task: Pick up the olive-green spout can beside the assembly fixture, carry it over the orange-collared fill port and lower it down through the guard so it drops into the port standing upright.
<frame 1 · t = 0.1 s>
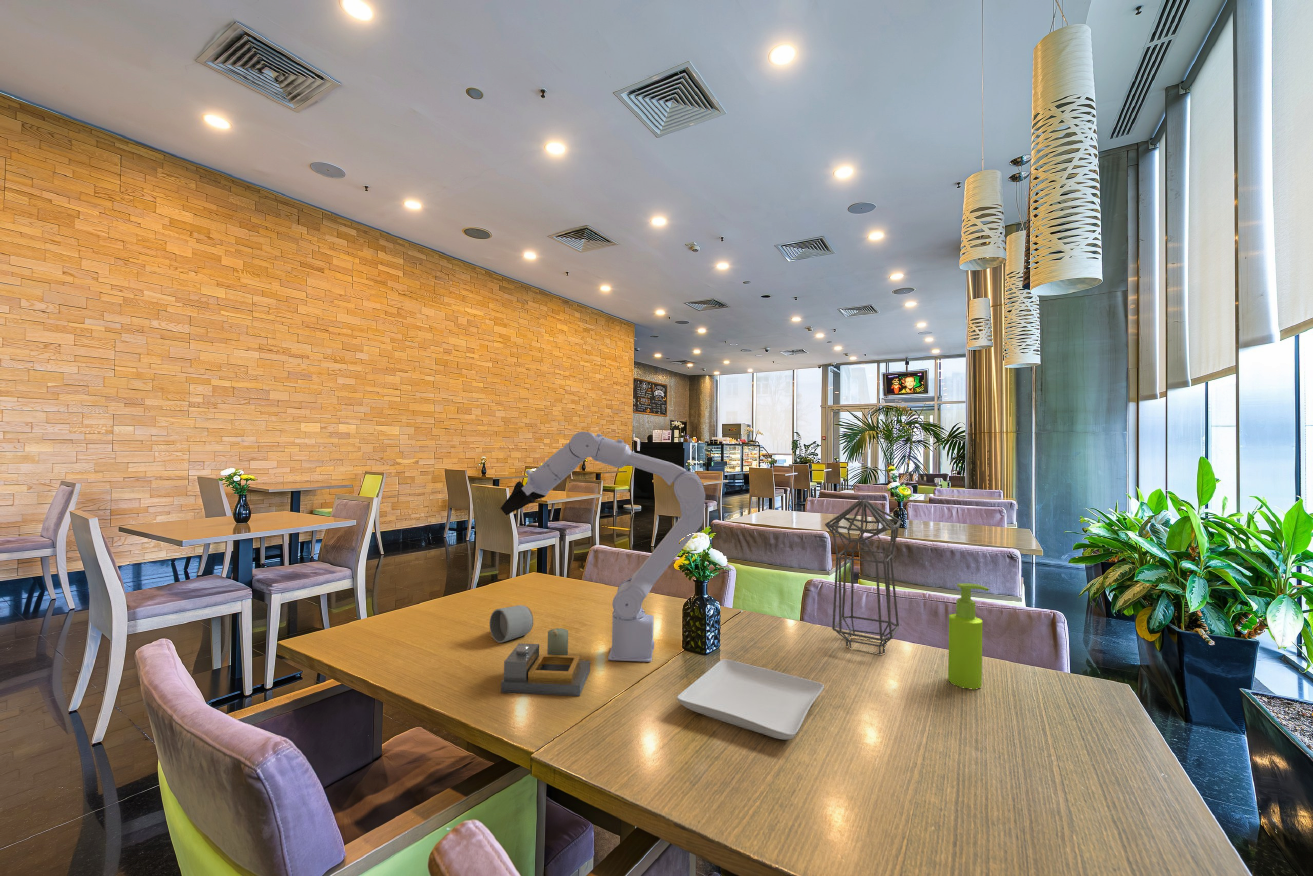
hand: (509, 509, 120), 32 cm above the table, tool tilted 50°, fingers open, 7 cm apart
grey hollow cylinder: (507, 637, 128), on the table
spout can: (557, 659, 115), on the table
geometric lantern: (861, 647, 126), on the table
salad plate: (752, 709, 96), on the table
soap dispenser: (967, 684, 107), on the table
assembly fixture: (547, 681, 105), on the table
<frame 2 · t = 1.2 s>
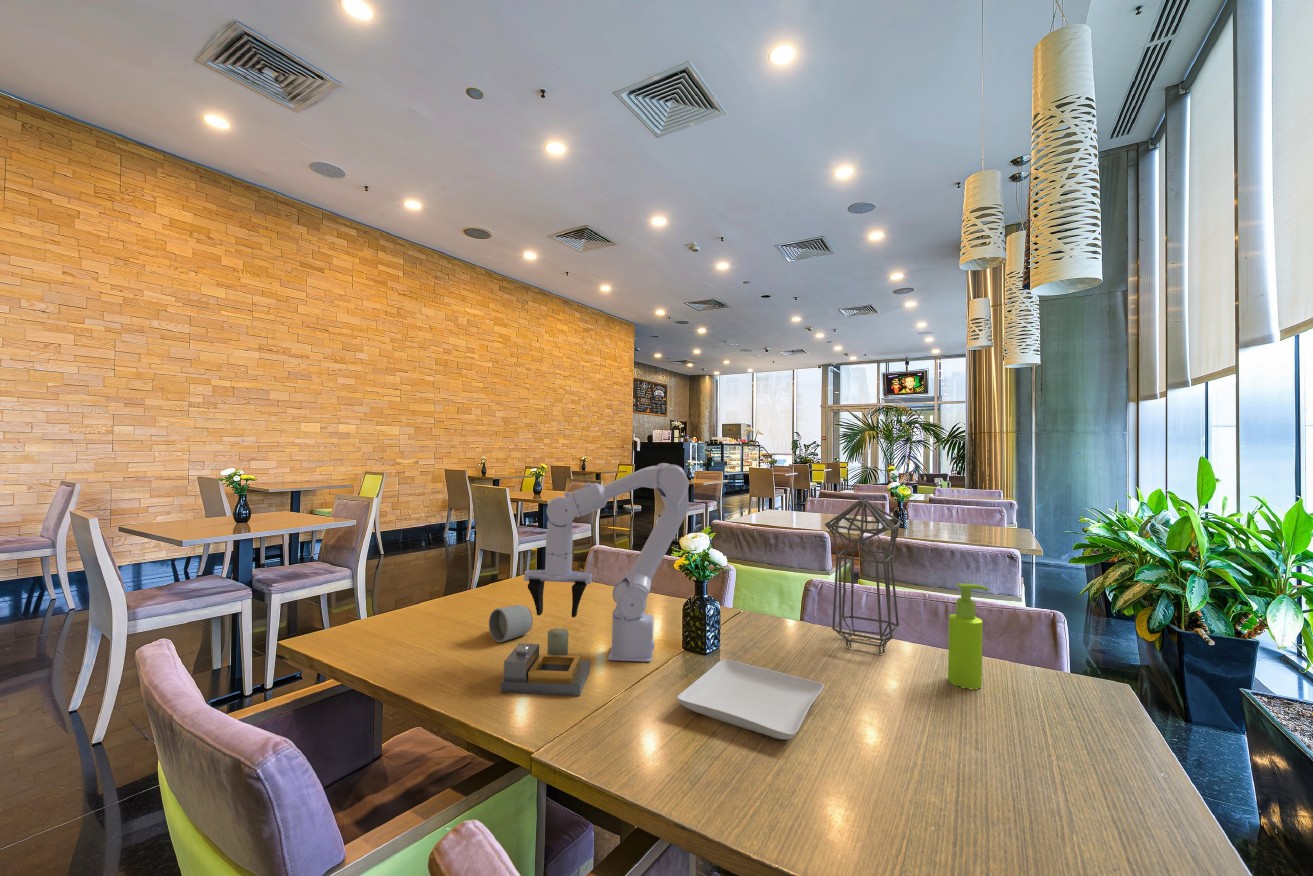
hand: (556, 615, 115), 10 cm above the table, tool pointing down, fingers open, 7 cm apart
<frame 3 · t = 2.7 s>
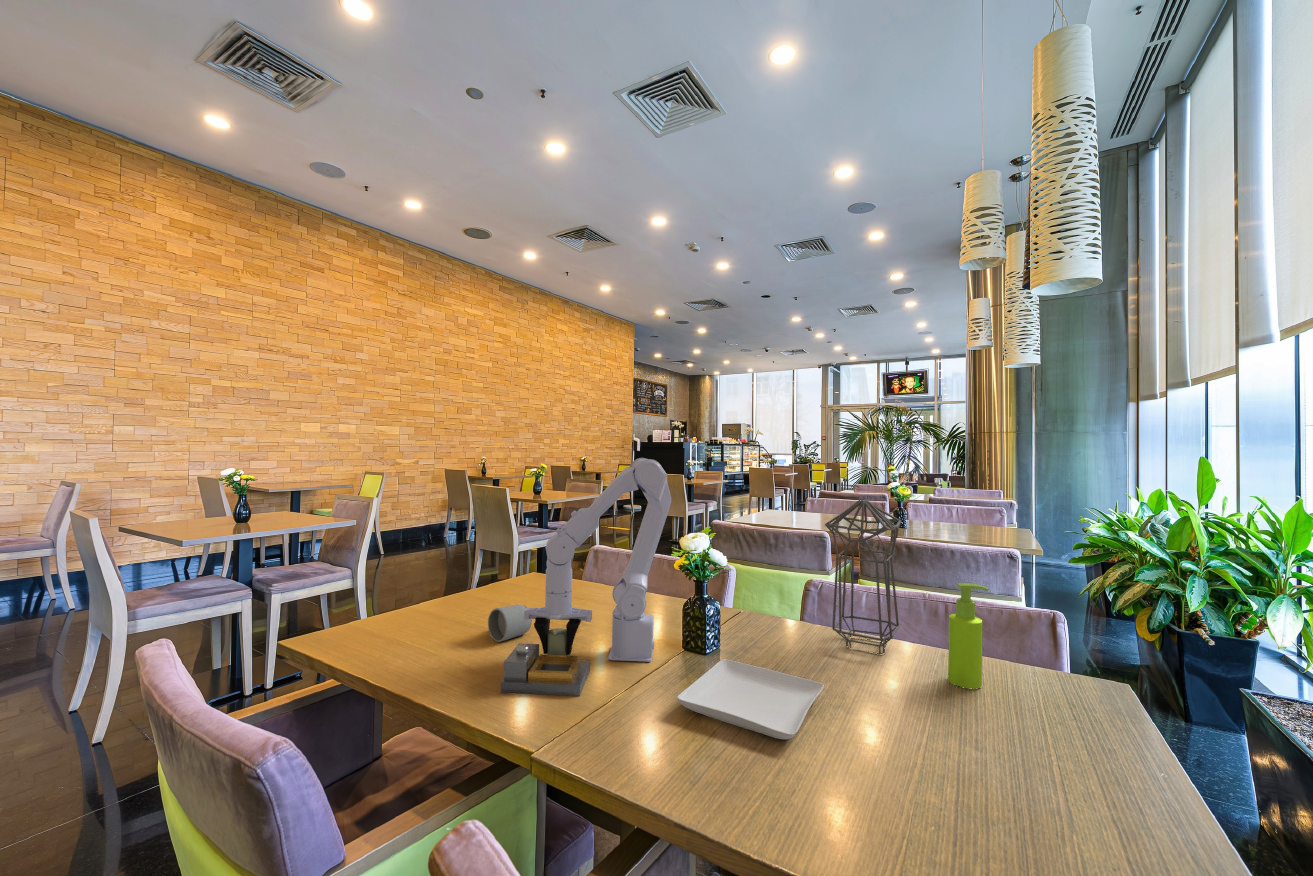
hand: (557, 652, 115), 1 cm above the table, tool pointing down, fingers closed on spout can, 4 cm apart
spout can: (557, 659, 115), on the table, touching gripper
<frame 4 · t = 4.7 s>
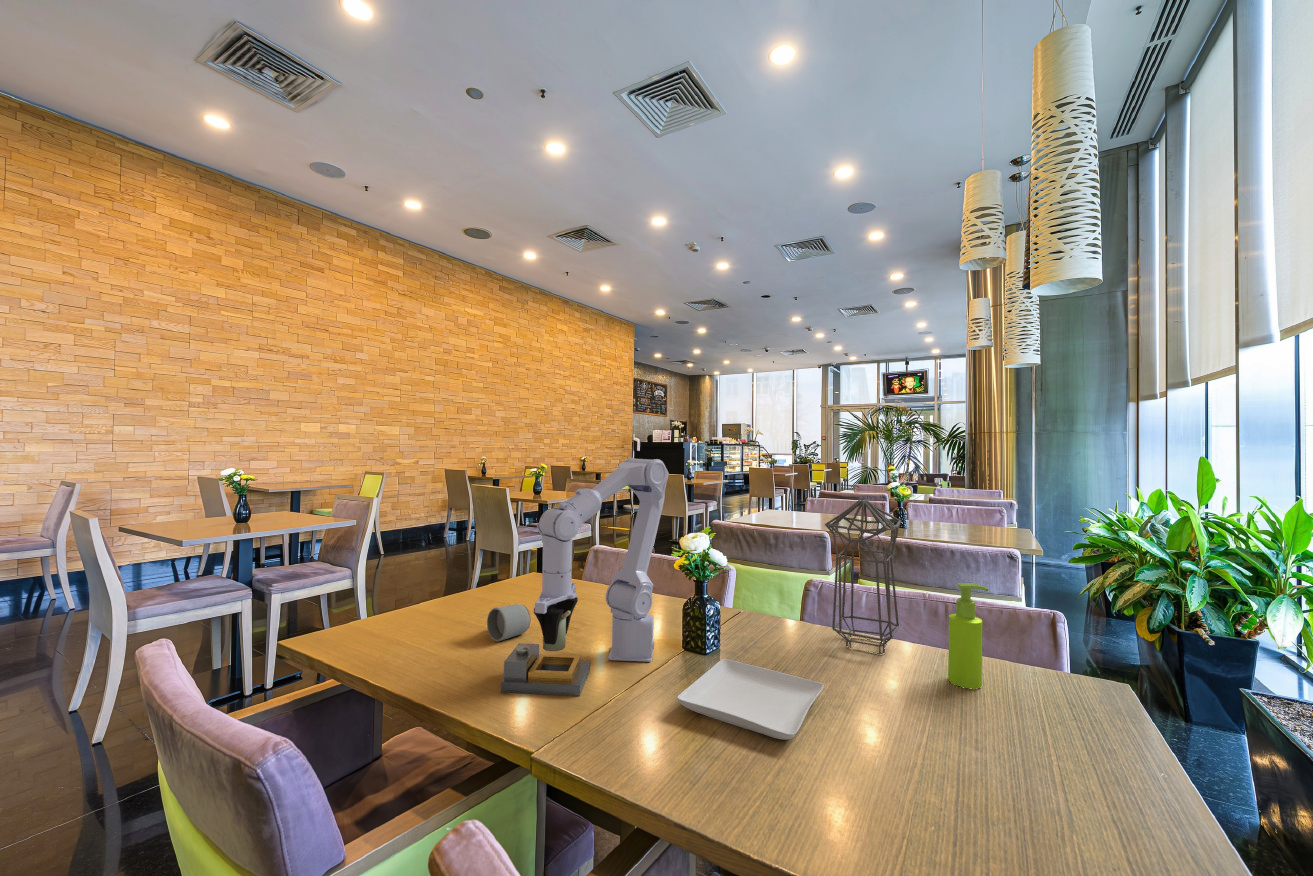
hand: (555, 638, 105), 8 cm above the table, tool pointing down, fingers closed on spout can, 4 cm apart
spout can: (554, 647, 105), point 7 cm above the table, touching gripper
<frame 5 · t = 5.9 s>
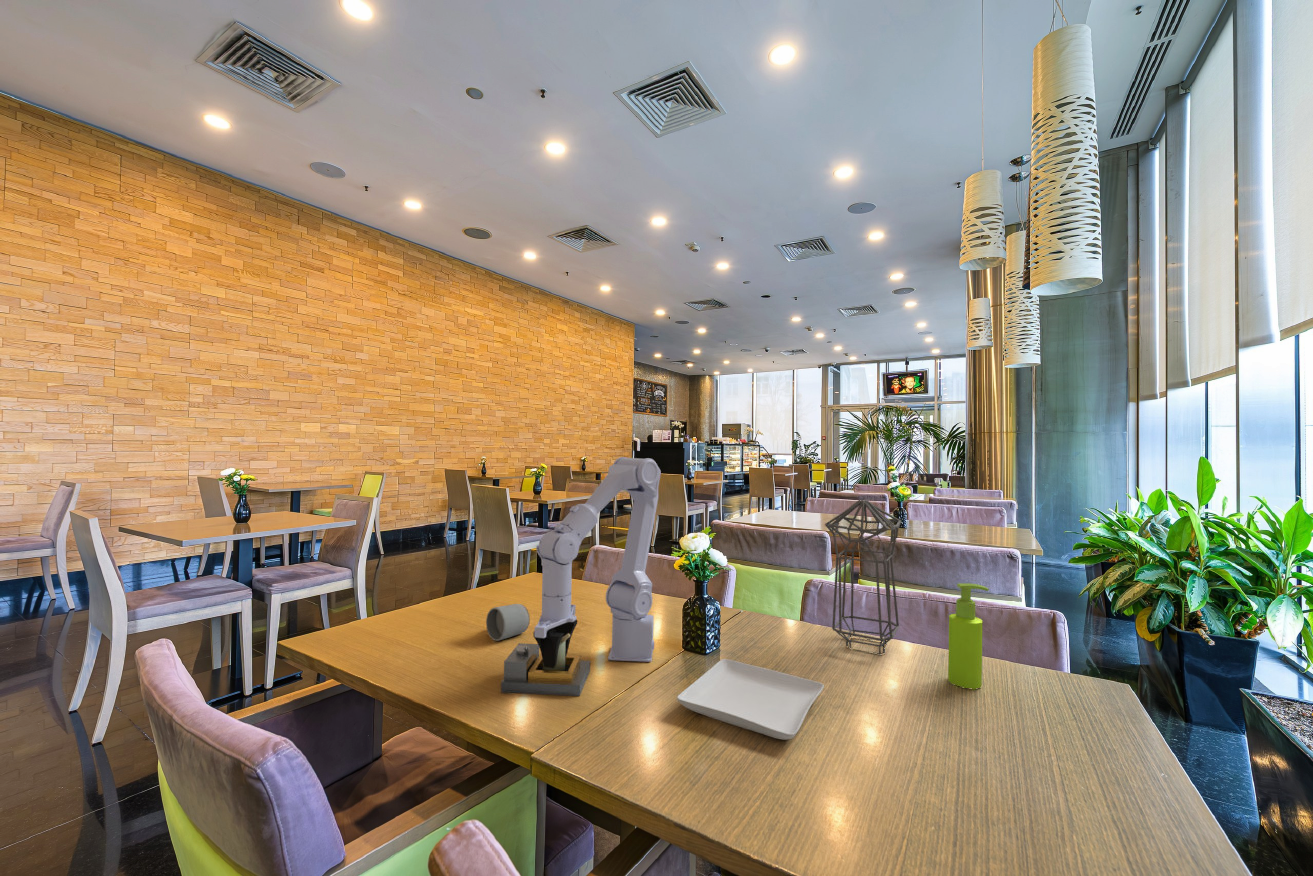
hand: (555, 661, 104), 4 cm above the table, tool pointing down, fingers closed on spout can, 4 cm apart
spout can: (553, 669, 105), point 2 cm above the table, touching gripper
when the fingers open (4 cm above the table, at t = 6.6 s): spout can drops 2 cm, resting in assembly fixture.
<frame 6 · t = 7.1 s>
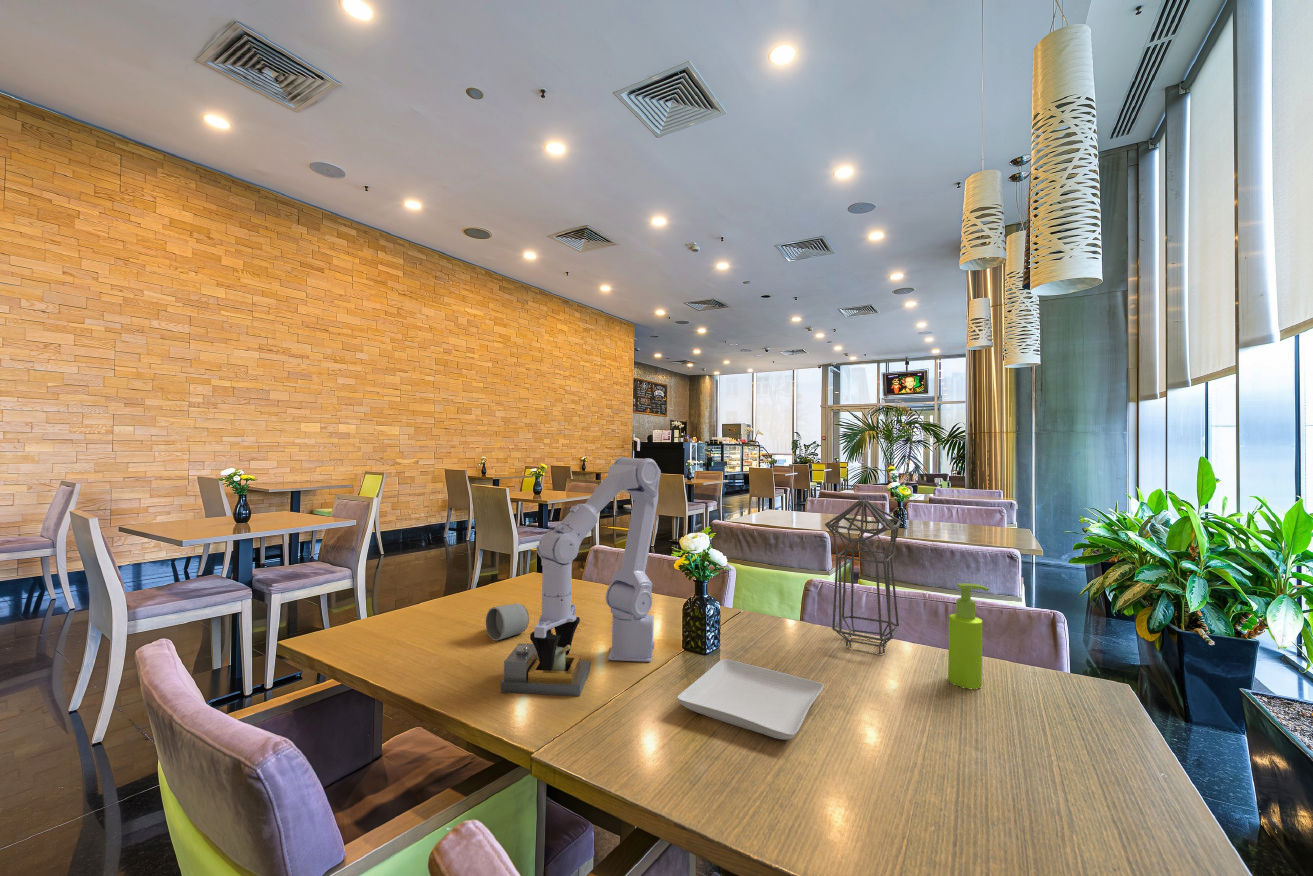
hand: (555, 661, 104), 4 cm above the table, tool pointing down, fingers open, 7 cm apart
spout can: (553, 681, 105), resting in assembly fixture
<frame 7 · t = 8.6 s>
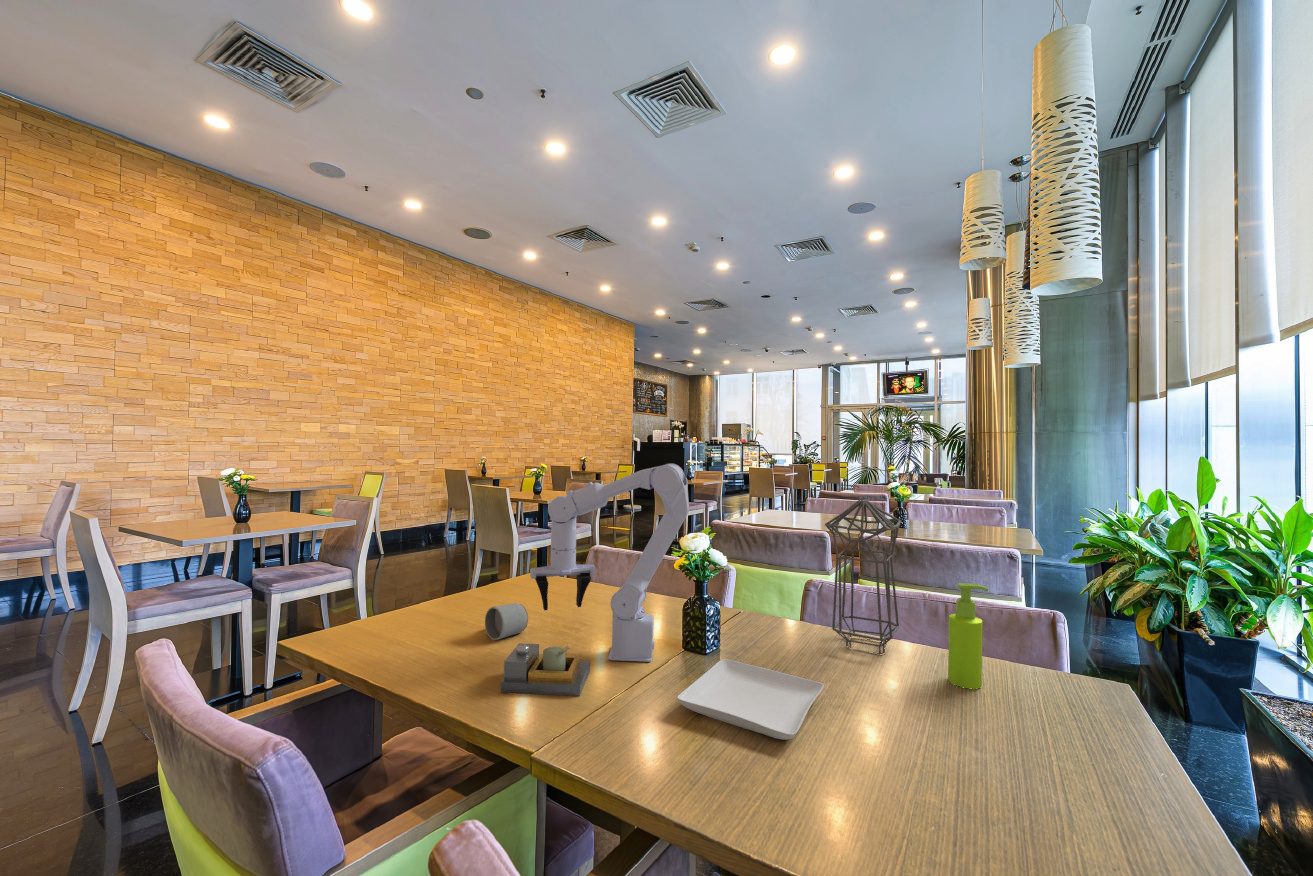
hand: (562, 607, 121), 9 cm above the table, tool pointing down, fingers open, 7 cm apart
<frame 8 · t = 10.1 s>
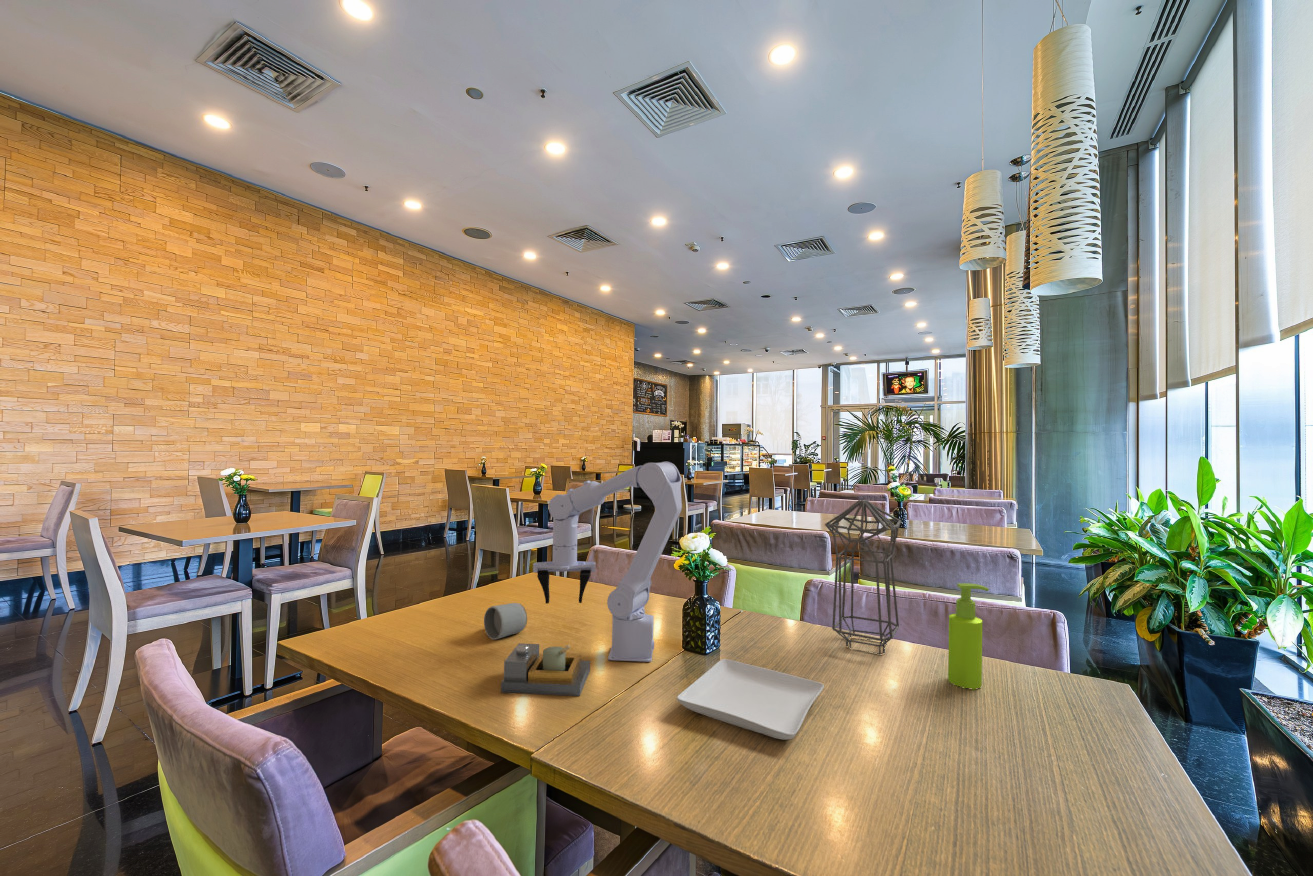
hand: (563, 602, 125), 9 cm above the table, tool pointing down, fingers open, 7 cm apart
at the end: spout can 0.4 cm from the target spot on the assembly fixture, point 0.0 cm above the assembly fixture's base; spout can tilted 0°; the gripper is holding nothing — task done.
